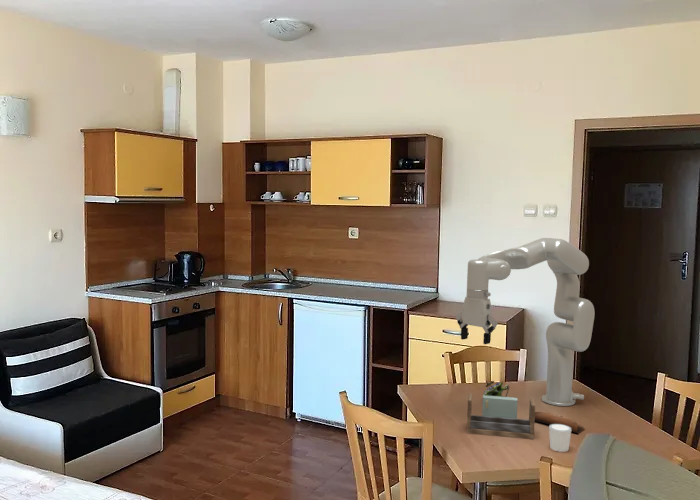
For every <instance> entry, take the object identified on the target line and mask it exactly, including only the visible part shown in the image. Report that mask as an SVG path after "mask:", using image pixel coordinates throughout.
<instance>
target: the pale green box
mask: <svg viewBox="0 0 700 500" xmlns="http://www.w3.org/2000/svg"><path fill="white" fill-rule="evenodd" d="M481 413H482V414H481V416H490V417H501V418H513V419H518V397H509V396H507V397H505V396H504V397H499V396H487V395H484V394H482V412H481Z"/></svg>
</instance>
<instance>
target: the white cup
mask: <svg viewBox="0 0 700 500" xmlns="http://www.w3.org/2000/svg"><path fill="white" fill-rule="evenodd" d="M548 432H549V447H550V450H552V451H556V452H560V453H564V452H568V451H569V450H570V442H571V436H572V431H571V427H569V426H567V425H563V424H551V425H549V426H548Z"/></svg>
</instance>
